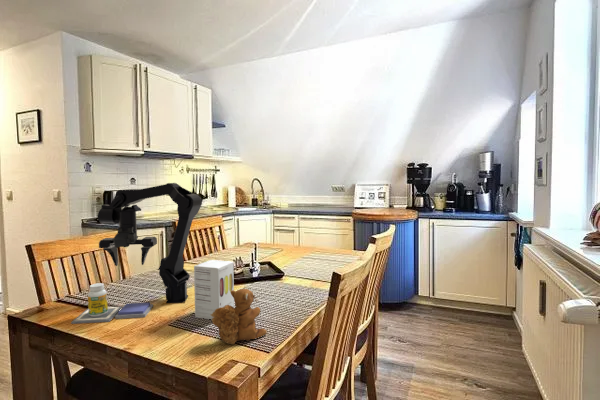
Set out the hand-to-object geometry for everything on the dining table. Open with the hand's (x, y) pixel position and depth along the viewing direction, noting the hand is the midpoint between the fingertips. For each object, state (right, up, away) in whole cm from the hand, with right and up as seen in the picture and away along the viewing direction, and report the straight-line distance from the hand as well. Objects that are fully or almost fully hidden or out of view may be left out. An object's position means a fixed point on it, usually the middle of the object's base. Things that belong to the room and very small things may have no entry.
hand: (129, 265), depth 131 cm
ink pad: (+9, -13, -14) cm, 21 cm away
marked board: (-2, -13, -16) cm, 21 cm away
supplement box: (+35, -13, -16) cm, 41 cm away
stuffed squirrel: (+46, -15, -32) cm, 58 cm away
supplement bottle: (-2, -13, -17) cm, 21 cm away
